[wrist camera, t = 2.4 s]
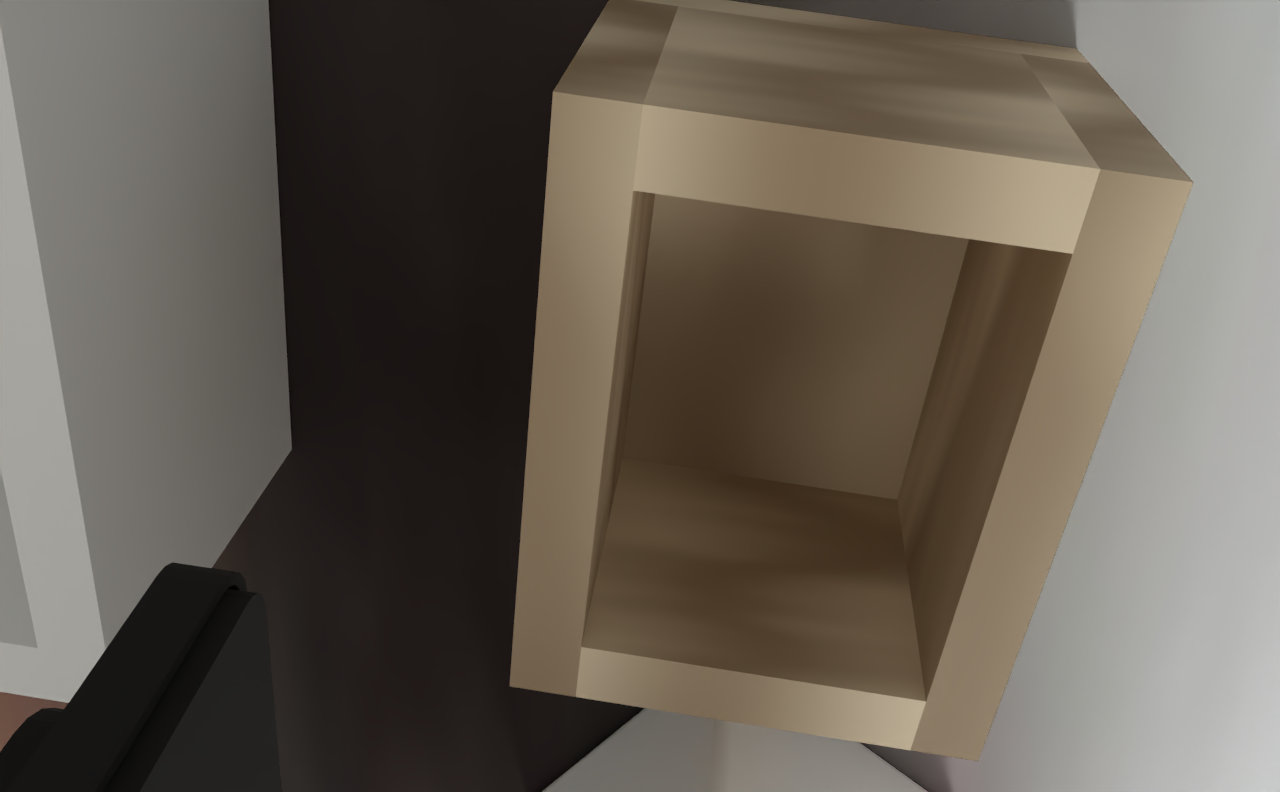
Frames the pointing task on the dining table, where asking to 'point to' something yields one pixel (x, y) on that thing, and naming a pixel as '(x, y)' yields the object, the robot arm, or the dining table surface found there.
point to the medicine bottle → (726, 760)
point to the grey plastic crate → (130, 311)
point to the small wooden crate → (820, 362)
